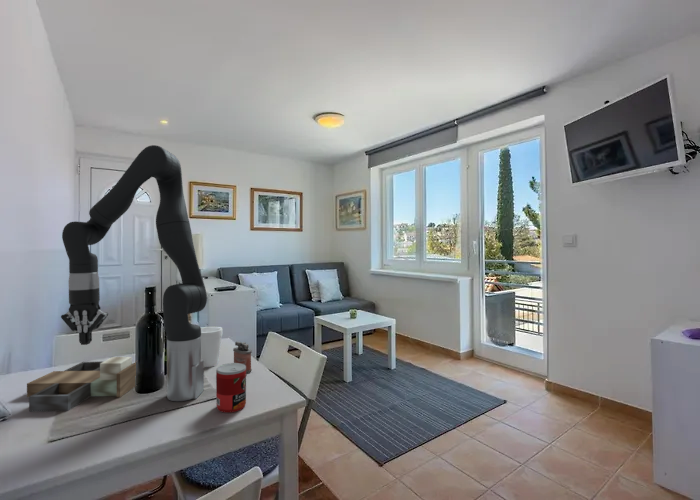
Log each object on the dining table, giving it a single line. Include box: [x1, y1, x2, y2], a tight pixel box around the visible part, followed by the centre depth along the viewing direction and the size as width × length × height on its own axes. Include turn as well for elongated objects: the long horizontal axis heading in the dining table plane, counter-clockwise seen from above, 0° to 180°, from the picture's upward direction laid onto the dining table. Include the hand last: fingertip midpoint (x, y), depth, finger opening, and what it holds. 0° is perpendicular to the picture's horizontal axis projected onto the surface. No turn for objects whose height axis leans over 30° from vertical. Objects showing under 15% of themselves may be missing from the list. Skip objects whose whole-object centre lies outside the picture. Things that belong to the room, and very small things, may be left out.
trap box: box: [26, 360, 137, 412], centre depth 109 cm, size 27×28×7 cm
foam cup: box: [200, 326, 223, 368], centre depth 133 cm, size 10×9×13 cm
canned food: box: [215, 362, 247, 414], centre depth 99 cm, size 8×8×11 cm
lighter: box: [232, 341, 253, 374], centre depth 126 cm, size 8×3×10 cm, turn 58°
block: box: [100, 356, 133, 380], centre depth 110 cm, size 6×6×5 cm
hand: (85, 344), depth 109 cm, fingers closed
